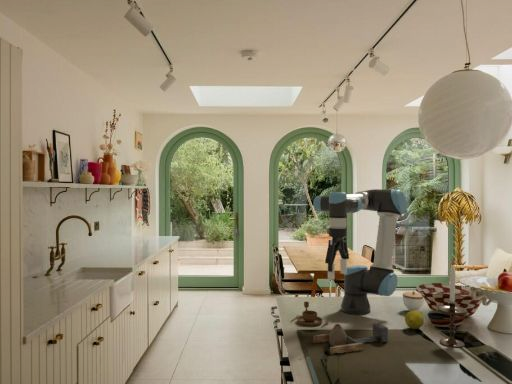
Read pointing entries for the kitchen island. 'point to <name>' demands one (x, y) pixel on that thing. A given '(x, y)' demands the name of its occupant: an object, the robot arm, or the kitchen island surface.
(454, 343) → the candlestick
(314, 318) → the place setting
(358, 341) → the lopsided grey dumbbell
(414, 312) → the lemon
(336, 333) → the vase
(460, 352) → the kitchen island surface
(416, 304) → the lidded jar
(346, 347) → the channel
